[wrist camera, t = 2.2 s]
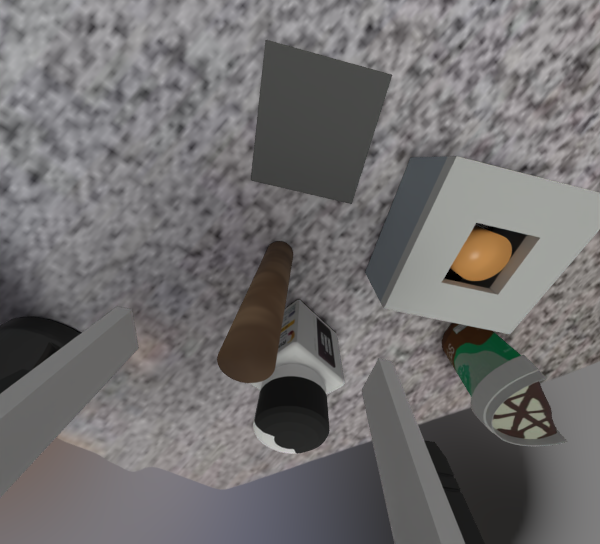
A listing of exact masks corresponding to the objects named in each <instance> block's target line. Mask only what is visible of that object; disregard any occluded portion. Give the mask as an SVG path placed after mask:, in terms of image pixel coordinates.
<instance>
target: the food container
mask: <svg viewBox="0 0 600 544" xmlns="http://www.w3.org/2000/svg"><path fill="white" fill-rule="evenodd" d="M442 348H443V350H444V352H445V354H446V355H447V357H448V359H449V360H450V362H451V364H452V365H453V367H454V369H455V370H456V372H457V374H458V375H459V377H460V379H461V380H462V382H463V384H464V385H465V387H466V389H467V390H468V392H469V394H470V395H471V397H472V398H471V408H472V410H473V412H474V414H475V415H476V416H477V417H478V418H479V420H480V421H481V422H482V423H483V424H484V425H485V426H486V427H487V428H488V429H489V430H490V431H491V432H493V433H494V434H496V435H497V436H498V437H499V438H501V439H502V440H504V441H506V442H509V443H512V444H517V445H522V446H547V445H554V444H560V443H565V442H567V440H566V439H565V438H564V437H563V436H562V435H561V434H560V433H559V431H558V430H557V429H556V427H555V425H554V423H553V420H552V412H551V408H550V406H549V403H548V401H547V399H546V397H545V395H544V393H543V391H542V388H541V386H540V383H539V381H541V380H544V379H546V377H545V376H544V375H543V374H542V373H541V372H540V371H539V369H538V368H537V367H536V366H535V365H534V364H533V363H532V362H531V361H530V360H529V359H528V358H527V357H526V356H525V355H520V354H519V353H518V352H517V351H515V350H514V349H513V348H512V347H511V346H510V345H508V344H507V343H506V342H505V341H504V340H503V339H502V338H500V337H499V336H498V335H497V334H496V333H495V332H493V331H492V330H487V329H482V328H477V327H472V326H467V325H462V324H457V323H452V324H451V325H450V326H449V328H448V329H447V330H446V332H445V333H444V336H443V339H442Z"/></svg>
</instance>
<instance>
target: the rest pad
mask: <svg viewBox="0 0 600 544" xmlns="http://www.w3.org/2000/svg"><path fill="white" fill-rule="evenodd" d="M391 77H392V75H391V74H387V73H384V72H380V71H377V70H373V69H369V68H366V67H362V66H359V65H355V64H351V63H348V62H344V61H340V60H337V59H333V58H330V57H326V56H322V55H319V54H315V53H312V52H308V51H304V50H301V49H297V48H294V47H290V46H286V45H283V44H279V43H276V42H272V41H268V40H266V42H265V51H264V60H263V70H262V79H261V89H260V98H259V107H258V117H257V126H256V135H255V145H254V154H253V163H252V173H251V180H252V181H256V182H260V183H264V184H269V185H273V186H277V187H281V188H286V189H290V190H294V191H299V192H303V193H307V194H311V195H316V196H320V197H324V198H329V199H333V200H337V201H341V202H346V203H350V204H352V201H353V198H354V195H355V192H356V189H357V185H358V182H359V179H360V176H361V173H362V169H363V166H364V163H365V160H366V157H367V153H368V150H369V147H370V144H371V141H372V138H373V134H374V131H375V128H376V125H377V122H378V118H379V115H380V112H381V109H382V106H383V103H384V99H385V96H386V93H387V90H388V87H389V83H390V80H391Z"/></svg>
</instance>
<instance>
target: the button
mask: <svg viewBox="0 0 600 544" xmlns="http://www.w3.org/2000/svg"><path fill="white" fill-rule="evenodd" d="M511 254H512V246H511V243H510V242H509V240H508V239H507V238H505V237H504V236H502V235H499V234H496V233H494V232H491V231H489V230H486V229H484V228H481V227H478V226H476V225H475V226H474V228H473V230H472V231H471V233H470V235H469V236H468V238H467V240H466V242H465V243H464V245H463V247H462V248H461V250H460V252H459V253H458V255H457V257H456V259H455V260H454V262H453V264H452V265H451V267H450V268H451V269H452V270H453V271H455V272H456V273H457V274H459V275H460V276H461V277H463V278H464V279H466V280H469V281H481V280H485V279H488V278H490V277H492V276H494V275H496V274H497V273H499V272H500V271H501V270H502V269H503V268H504V267H505V266H506V265H507V263H508V261H509V260H510V257H511Z"/></svg>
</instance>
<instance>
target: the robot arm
mask: <svg viewBox="0 0 600 544" xmlns="http://www.w3.org/2000/svg"><path fill="white" fill-rule="evenodd" d="M137 349H138V342H137V336H136V329H135V323H134V317H133V311H132V309H127V308H122V307H116V308H114V309H113V310H112V311H110V312H109V313H108V314H106V315H105V316H104V317H102V318H101V319H100V320H98V321H97V322H96V323H94V324H93V325H92V326H90V327H89V328H88V329H86V330H85V331H84V332H82V333H81V334H80V333H78V332H77V331H75V330H73V329H71V328H69V327H67V326H65V325H62V324H60V323H57V322H54V321H51V320H47V319H42V318H36V317H20V318H15V319H12V320H10V321H8V322H6V323H4V324H3V325H1V326H0V498H1V497H2V495H3V494H4V493H5V492H6V491H7V490H8V489H9V488H10V487H11V486H12V485H13V483H14V482H15V481H16V480H17V479H18V478H19V477H20V476H21V475H22V474H23V473H24V472H25V471H26V469H27V468H28V467H29V466H30V465H31V464H32V463H33V462H34V460H36V458H38V456H39V455H40V454H41V453H42V452H43V451H44V450H45V449H46V448H47V446H49V445H50V443H51V442H52V441H53V440H54V439H55V438H56V437H57V436H58V435H59V434H60V433H61V432H62V430H63V429H64V428H65V427H66V426H67V425H68V424H69V423H70V422H71V421H72V420H73V419H74V417H75V416H76V415H77V414H78V413H79V412H80V411H81V410H82V409H83V408H84V407H85V406H86V404H87V403H88V402H89V401H90V400H91V399H92V398H93V397H94V396H95V395H96V394H97V393H98V391H99V390H100V389H101V388H102V387H103V386H104V385H105V384H106V383H107V382H108V381H109V380H110V378H111V377H112V376H113V375H114V374H115V373H116V372H117V371H118V370H119V369H120V368H121V367H122V365H123V364H124V363H125V362H126V361H127V360H128V359H129V358H130V357H131V356H132V355H133V354H134V352H135V351H136V350H137ZM362 395H363V399H364V404H365V409H366V413H367V418H368V423H369V427H370V432H371V436H372V441H373V446H374V450H375V455H376V460H377V464H378V469H379V473H380V478H381V482H382V487H383V492H384V497H385V501H386V506H387V510H388V515H389V520H390V524H391V529H392V533H393V538H394V543H395V544H485V543H484V541H483V539H482V537H481V535H480V532H479V530H478V528H477V525H476V523H475V521H474V520H473V517H472V514H471V512H470V510H469V508H468V506H467V503H466V501H465V499H464V497H463V494H462V493H461V492H460V488H459V486H458V483H457V481H456V479H455V478H454V476H453V472H452V470H451V468H450V466H449V463H448V461H447V459H446V457H445V456H444V454H443V453H442V452H441V450H440V449H439V447H438V446H437V445H436V443H435V442H430V441H425V440H423V437H422V434H421V432H420V429H419V427H418V424H417V422H416V419H415V417H414V414H413V412H412V409H411V407H410V404H409V402H408V399H407V397H406V394H405V392H404V389H403V387H402V384H401V382H400V379H399V377H398V374H397V372H396V369H395V367H394V364H393V362H392V361H390V360H385V359H380V358H379V359H378V360H377V362H376V364H375V366H374V368H373V370H372V372H371V374H370V375H369V377H368V379H367V381H366V383H365V385H364V387H363V388H362Z"/></svg>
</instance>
